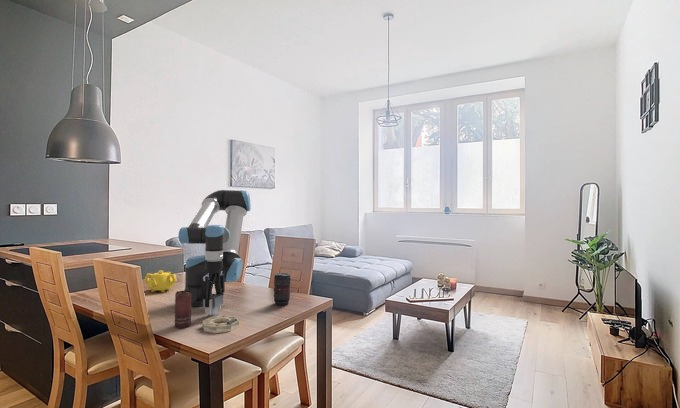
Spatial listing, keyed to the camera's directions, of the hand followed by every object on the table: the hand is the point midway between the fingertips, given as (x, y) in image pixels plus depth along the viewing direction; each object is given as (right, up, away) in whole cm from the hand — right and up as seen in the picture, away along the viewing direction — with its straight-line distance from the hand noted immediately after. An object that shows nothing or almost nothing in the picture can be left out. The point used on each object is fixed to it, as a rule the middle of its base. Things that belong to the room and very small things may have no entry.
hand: (213, 311), depth 160 cm
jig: (+8, -2, -13) cm, 15 cm away
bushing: (0, -2, 0) cm, 2 cm away
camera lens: (+27, -3, +21) cm, 34 cm away
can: (-8, -2, -13) cm, 15 cm away
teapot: (-44, -1, +41) cm, 60 cm away
